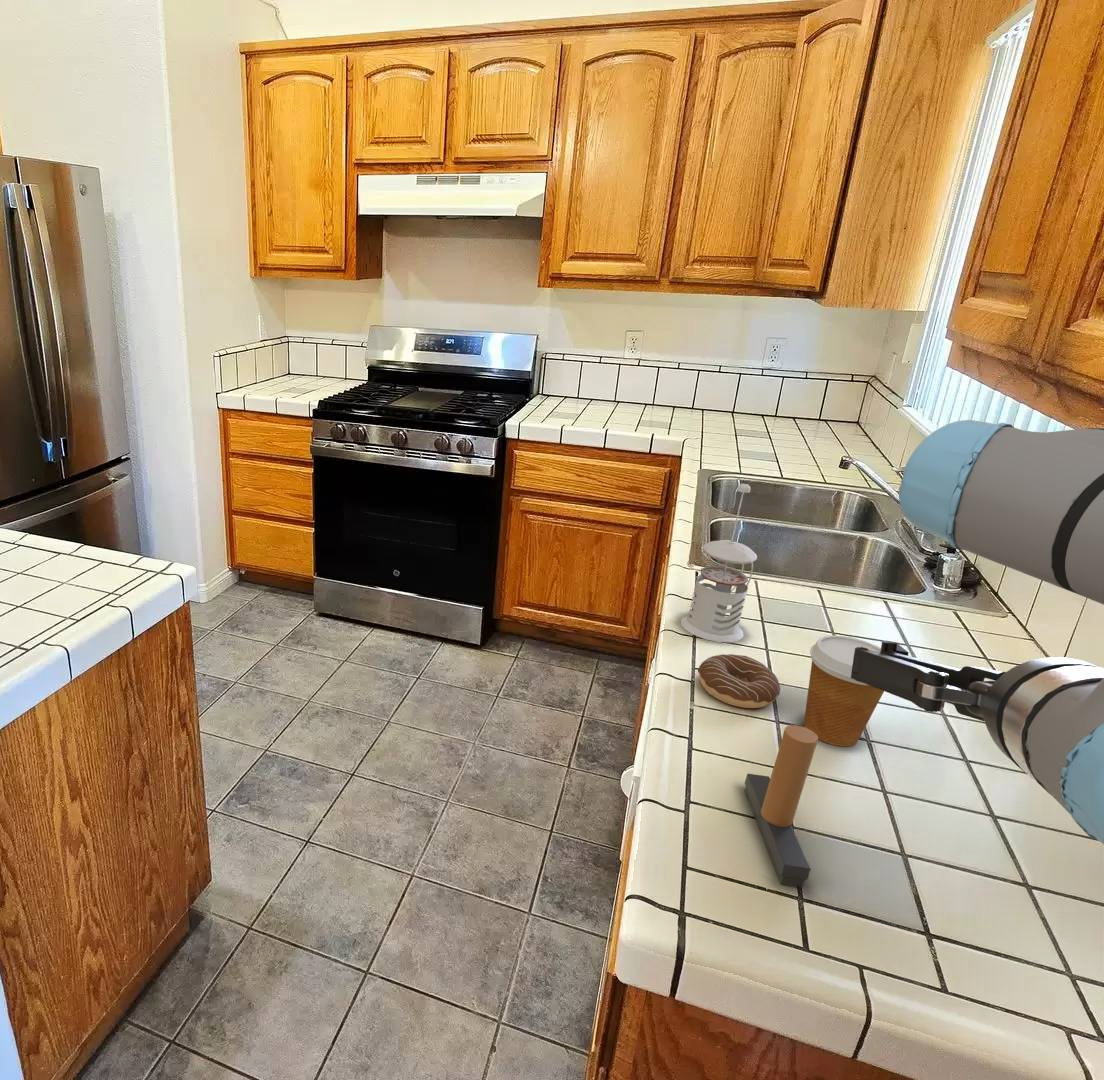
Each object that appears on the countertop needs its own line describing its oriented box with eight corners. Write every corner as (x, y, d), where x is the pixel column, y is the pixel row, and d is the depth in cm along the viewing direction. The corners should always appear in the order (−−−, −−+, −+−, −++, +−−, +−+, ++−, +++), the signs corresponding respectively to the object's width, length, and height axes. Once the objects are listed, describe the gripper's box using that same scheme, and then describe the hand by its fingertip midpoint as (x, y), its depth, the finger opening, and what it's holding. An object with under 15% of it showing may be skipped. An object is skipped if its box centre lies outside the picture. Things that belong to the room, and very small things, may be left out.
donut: (740, 668, 113) (746, 645, 111) (794, 708, 103) (801, 683, 102) (679, 676, 110) (685, 652, 109) (728, 717, 101) (735, 692, 99)
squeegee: (767, 794, 86) (795, 697, 82) (807, 889, 74) (843, 781, 69) (739, 790, 87) (765, 694, 82) (775, 883, 74) (808, 776, 69)
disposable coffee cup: (773, 717, 101) (795, 638, 97) (826, 706, 104) (849, 629, 100) (834, 761, 93) (861, 677, 88) (889, 747, 96) (918, 665, 92)
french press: (668, 622, 126) (697, 479, 117) (710, 607, 132) (741, 470, 123) (720, 647, 119) (756, 497, 109) (762, 631, 125) (800, 487, 116)
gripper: (822, 742, 49) (808, 685, 68) (1394, 863, 38) (1186, 755, 57) (838, 628, 49) (819, 603, 67) (1422, 716, 37) (1202, 656, 56)
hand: (986, 672), depth 62 cm, fingers open, 13 cm apart
